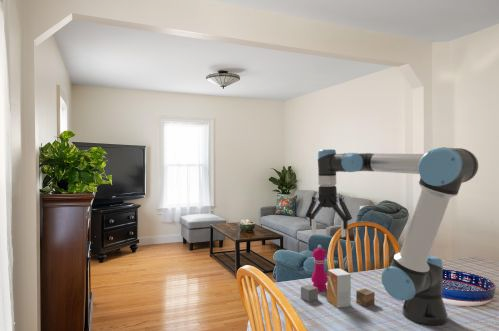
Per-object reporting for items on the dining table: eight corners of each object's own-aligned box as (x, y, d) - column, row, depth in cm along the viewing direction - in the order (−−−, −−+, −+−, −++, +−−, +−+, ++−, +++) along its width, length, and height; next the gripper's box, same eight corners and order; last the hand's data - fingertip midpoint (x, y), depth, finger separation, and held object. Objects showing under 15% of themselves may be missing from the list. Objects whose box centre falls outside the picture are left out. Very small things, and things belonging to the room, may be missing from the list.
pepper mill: (326, 286, 167) (326, 243, 167) (328, 292, 160) (328, 247, 159) (310, 285, 168) (310, 243, 167) (312, 291, 161) (312, 246, 160)
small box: (326, 300, 151) (326, 269, 150) (340, 298, 152) (340, 268, 152) (337, 308, 143) (337, 275, 143) (351, 306, 145) (351, 273, 144)
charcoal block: (317, 299, 152) (317, 287, 152) (308, 302, 149) (308, 290, 149) (309, 295, 156) (309, 284, 156) (300, 298, 153) (300, 286, 153)
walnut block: (374, 304, 147) (374, 292, 146) (366, 307, 144) (366, 294, 144) (364, 300, 151) (364, 288, 151) (356, 302, 148) (356, 290, 148)
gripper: (359, 185, 150) (360, 236, 150) (305, 184, 165) (306, 231, 165) (352, 186, 144) (353, 239, 144) (297, 185, 159) (298, 233, 159)
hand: (328, 235), depth 154 cm, fingers open, 13 cm apart
